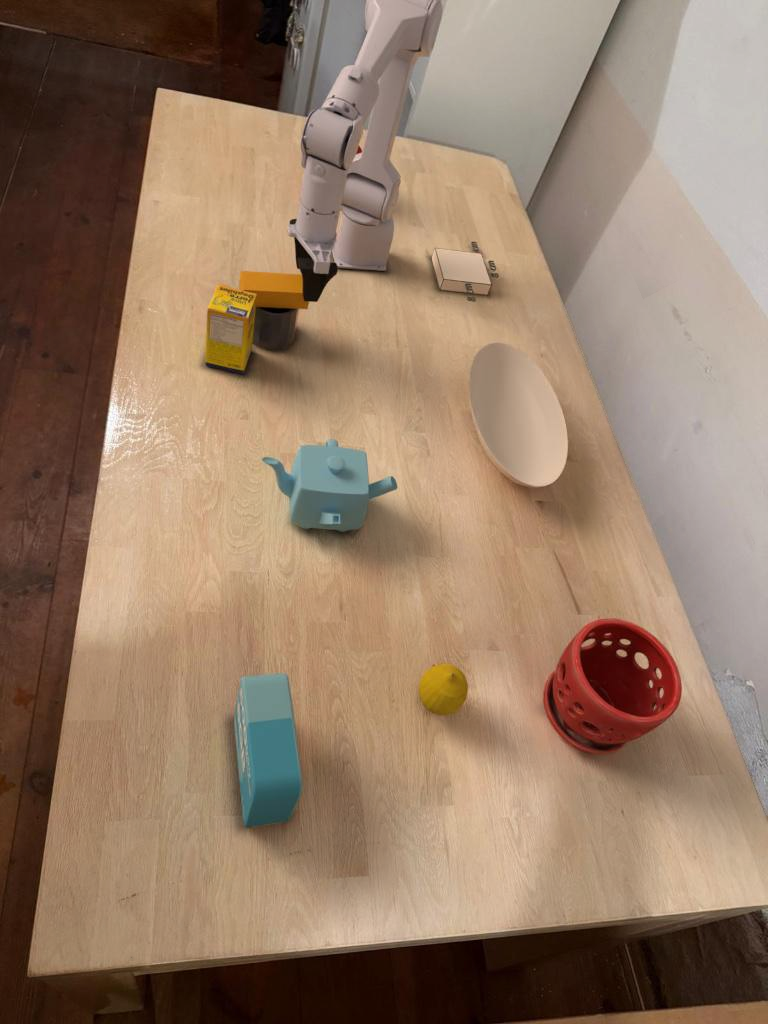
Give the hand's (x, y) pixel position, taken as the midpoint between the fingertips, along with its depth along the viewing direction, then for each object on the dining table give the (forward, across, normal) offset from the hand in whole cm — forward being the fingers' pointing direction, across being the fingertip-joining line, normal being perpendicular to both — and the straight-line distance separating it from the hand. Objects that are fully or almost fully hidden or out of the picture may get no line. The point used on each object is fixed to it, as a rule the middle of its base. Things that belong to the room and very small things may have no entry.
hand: (306, 283), depth 113 cm
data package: (+10, +69, -13) cm, 71 cm away
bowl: (+10, +22, +30) cm, 39 cm away
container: (+10, -18, +34) cm, 40 cm away
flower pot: (+10, +67, +27) cm, 73 cm away
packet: (+3, 0, -5) cm, 6 cm away
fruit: (+10, +64, +8) cm, 65 cm away
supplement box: (+10, +6, -12) cm, 17 cm away
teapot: (+10, +36, -2) cm, 38 cm away
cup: (+10, 0, -5) cm, 11 cm away
